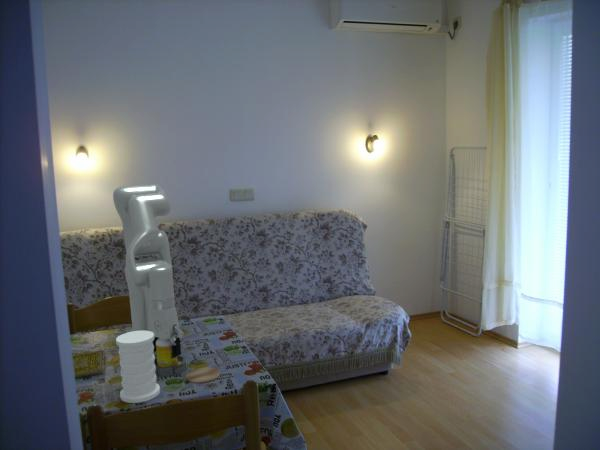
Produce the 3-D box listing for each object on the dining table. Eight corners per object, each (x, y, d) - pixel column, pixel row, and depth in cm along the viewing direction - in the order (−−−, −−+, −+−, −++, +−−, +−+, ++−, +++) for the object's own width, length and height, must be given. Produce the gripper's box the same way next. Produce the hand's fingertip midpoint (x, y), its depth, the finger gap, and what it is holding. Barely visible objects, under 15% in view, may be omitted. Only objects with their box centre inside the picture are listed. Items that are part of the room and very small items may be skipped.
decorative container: (126, 386, 167) (120, 331, 165) (163, 384, 168) (159, 328, 165) (115, 404, 156) (109, 344, 153) (155, 401, 156) (150, 342, 154)
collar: (141, 370, 179) (140, 361, 179) (170, 358, 189) (170, 349, 188) (165, 379, 172) (164, 369, 171) (194, 365, 181) (194, 356, 181)
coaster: (178, 378, 172) (178, 376, 172) (204, 366, 180) (204, 364, 180) (202, 386, 165) (202, 384, 165) (227, 373, 174) (227, 371, 174)
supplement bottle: (173, 372, 176) (170, 335, 175) (154, 371, 178) (151, 334, 176) (181, 364, 183) (178, 328, 181) (163, 363, 184) (160, 327, 182)
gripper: (137, 302, 179) (141, 352, 181) (170, 309, 169) (175, 361, 171) (155, 297, 185) (159, 345, 187) (189, 303, 175) (193, 354, 177)
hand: (167, 353), depth 179 cm, fingers open, 9 cm apart
